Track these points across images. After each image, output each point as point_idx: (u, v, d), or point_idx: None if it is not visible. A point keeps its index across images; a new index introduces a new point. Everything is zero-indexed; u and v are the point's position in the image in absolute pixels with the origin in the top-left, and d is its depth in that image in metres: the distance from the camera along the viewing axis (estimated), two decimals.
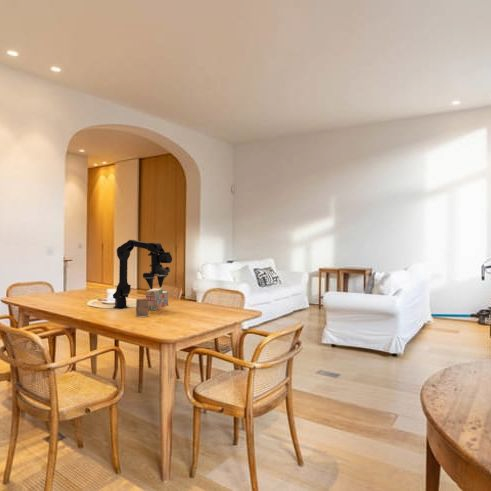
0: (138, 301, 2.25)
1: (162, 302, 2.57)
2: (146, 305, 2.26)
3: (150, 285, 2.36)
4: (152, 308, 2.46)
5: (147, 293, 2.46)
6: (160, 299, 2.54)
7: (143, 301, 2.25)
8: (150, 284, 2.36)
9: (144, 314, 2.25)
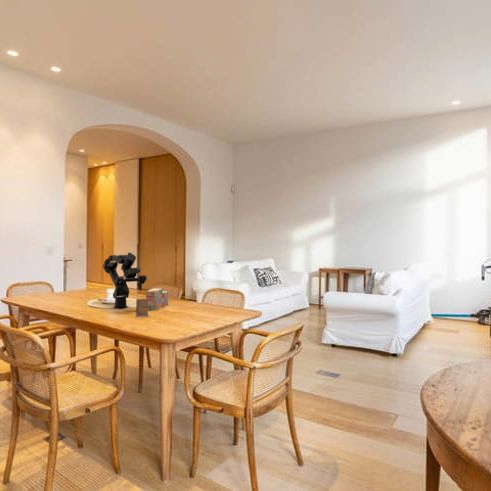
0: (138, 301, 2.25)
1: (162, 302, 2.58)
2: (146, 305, 2.26)
3: (126, 288, 2.34)
4: (152, 308, 2.46)
5: (147, 293, 2.46)
6: (160, 299, 2.54)
7: (143, 301, 2.25)
8: (125, 287, 2.34)
9: (144, 314, 2.25)
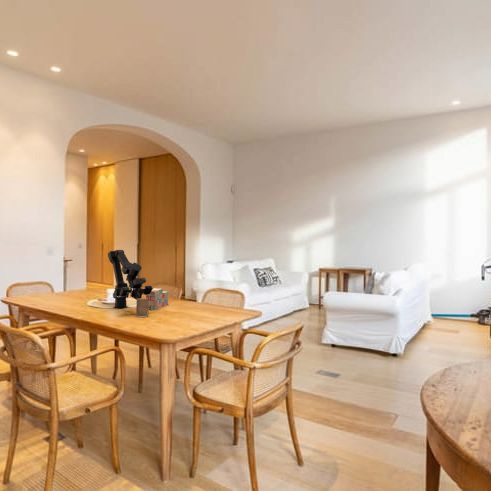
0: (138, 301, 2.25)
1: (162, 302, 2.58)
2: (146, 305, 2.26)
3: None
4: (152, 308, 2.47)
5: None
6: (160, 299, 2.54)
7: (143, 301, 2.24)
8: (137, 298, 2.30)
9: (144, 314, 2.25)
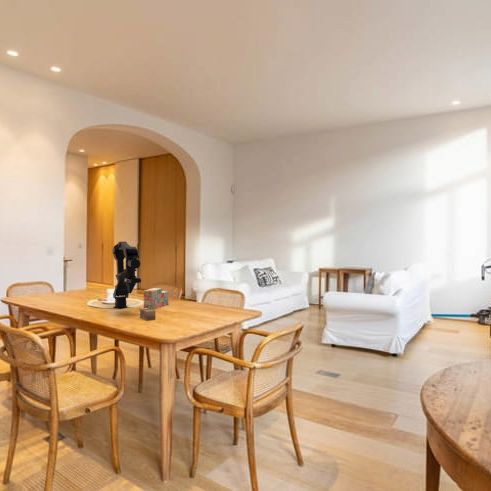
0: (146, 316, 2.17)
1: (161, 302, 2.59)
2: None
3: None
4: (150, 307, 2.48)
5: (145, 292, 2.48)
6: (159, 299, 2.55)
7: None
8: None
9: None
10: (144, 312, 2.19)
